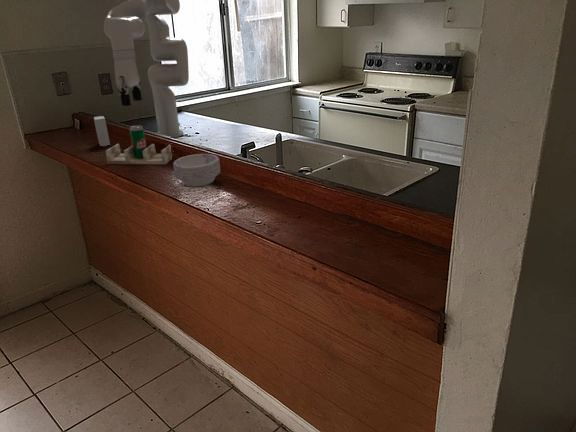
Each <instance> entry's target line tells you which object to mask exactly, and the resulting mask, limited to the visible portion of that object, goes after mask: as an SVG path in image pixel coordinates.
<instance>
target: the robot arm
mask: <svg viewBox="0 0 576 432" xmlns="http://www.w3.org/2000/svg"><path fill="white" fill-rule="evenodd" d="M180 8H181V4H180V0H126V1H124V2H121V3H119V5H116V6H114V7H113V8H111V9H110V10H109V11H108V13H107V14H106V16H105V18H104V21H103V31H104V34H105V35H106V36H107V38H109V39H110V42H111V48H112V55H113V60H114V77H115V84H116V87H117V91H118V94H119V96H120V101H121V106H123V107H130V106H131V105H132V104H131V97H130V94H129V89H131V94H132V100H133V101H135V102H137V101H138V102H139V101H142V100H143V99H142V98H143V97H142V93H141V77H140V74H139V71H138V66H137V62H136V59H137V57H136V56H137V55H136V51H135V44H134V39H140V38H141V37H142V36H143V35H144V33H145V31H146V28H145V27H146V26H145V23H144V22H143V20H144V19H145V21H146V24H147V27H148V30H149V48H150V49H149V51H150V56H151V58H152V59H153V61H156V62H174V61H175V62H176V63H155V64H152V65H151V66H149V68H148V70H147V77H148V81H149V84H150V87H151V91H152V96H153V104H154V110H155V118H156V125H157V132H156V133H159V134H163V135H167V136H171V137H175V138H178V137H181V136H183V135H184V131H183V130H181V129H180V126H181V123H180V122H179V116H178V108H177V101H176V95H175V93H174V91H173V90H172V89H171V88H170V87H183V86H184V87H185V86H187V85H188V83H189V79H190V78H189V76H190V75H189V73H190V72H189V70H190V69H189V52H188V50H189V49H188V45H187V42H186V40H185V39H183V38H181V37H170V26H169V24H168V22H167V21H166V20H165V19H164V18H163V17H162V15H163V16H165V15H167V16H168V15H177V14H178V13H179V11H180Z"/></svg>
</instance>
